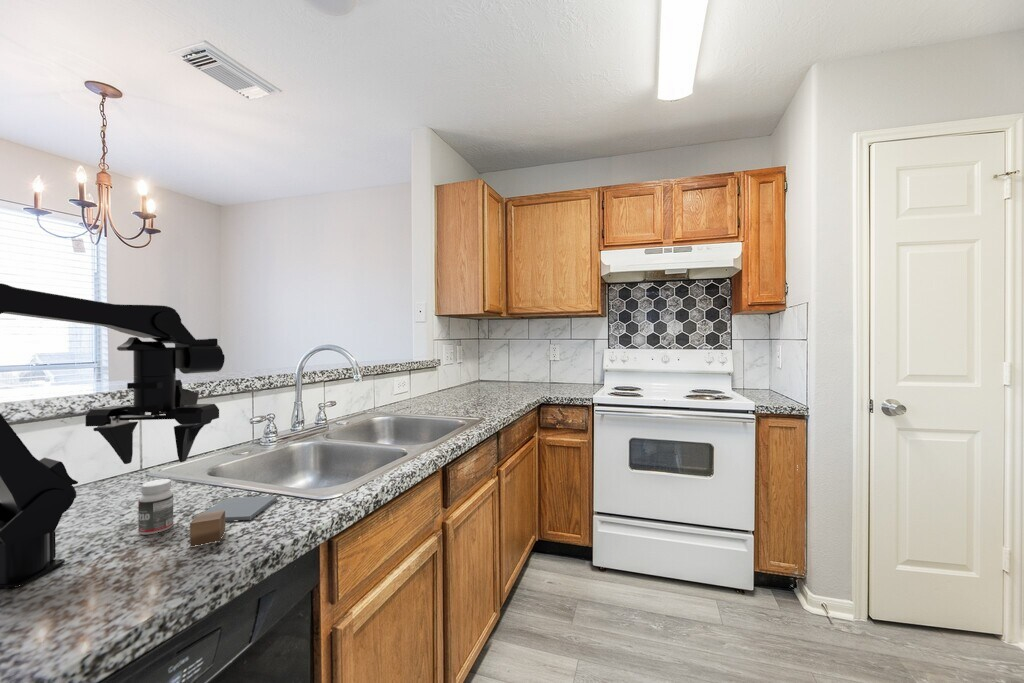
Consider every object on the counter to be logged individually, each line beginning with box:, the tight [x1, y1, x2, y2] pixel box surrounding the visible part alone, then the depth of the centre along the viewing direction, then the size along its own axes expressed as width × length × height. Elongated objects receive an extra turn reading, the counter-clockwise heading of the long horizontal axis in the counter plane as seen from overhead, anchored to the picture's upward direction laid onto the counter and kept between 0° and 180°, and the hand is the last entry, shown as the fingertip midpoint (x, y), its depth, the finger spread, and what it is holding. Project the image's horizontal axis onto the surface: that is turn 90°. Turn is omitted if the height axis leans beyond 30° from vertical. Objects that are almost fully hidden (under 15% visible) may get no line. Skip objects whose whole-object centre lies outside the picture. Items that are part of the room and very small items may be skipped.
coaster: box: [202, 495, 278, 522], centre depth 81 cm, size 10×10×1 cm
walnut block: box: [189, 510, 226, 546], centre depth 69 cm, size 4×4×4 cm
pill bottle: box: [137, 478, 174, 536], centre depth 73 cm, size 5×5×8 cm
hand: (155, 462), depth 73 cm, fingers open, 9 cm apart
